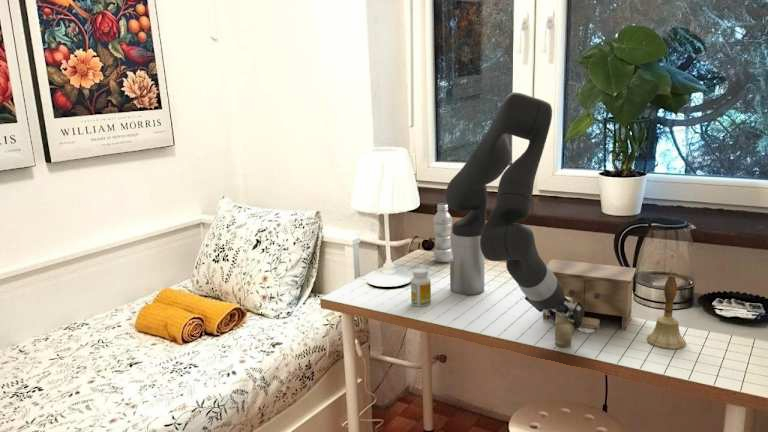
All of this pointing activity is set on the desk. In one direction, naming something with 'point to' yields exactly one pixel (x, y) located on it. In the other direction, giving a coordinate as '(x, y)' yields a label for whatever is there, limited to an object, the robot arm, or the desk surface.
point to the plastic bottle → (442, 234)
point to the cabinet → (597, 287)
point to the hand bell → (667, 322)
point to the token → (586, 329)
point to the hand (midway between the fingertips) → (568, 321)
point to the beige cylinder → (569, 328)
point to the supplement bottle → (420, 288)
